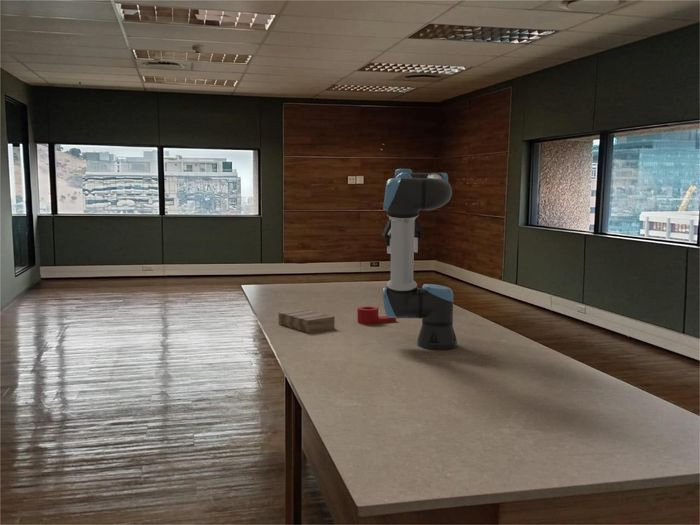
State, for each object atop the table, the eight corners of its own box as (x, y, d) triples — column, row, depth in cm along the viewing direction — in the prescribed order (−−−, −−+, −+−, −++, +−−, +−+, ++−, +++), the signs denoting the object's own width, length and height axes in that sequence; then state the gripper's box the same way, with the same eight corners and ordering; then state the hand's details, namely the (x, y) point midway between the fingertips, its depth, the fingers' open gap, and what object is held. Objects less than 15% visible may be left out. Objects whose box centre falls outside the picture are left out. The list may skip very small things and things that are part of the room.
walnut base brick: (334, 330, 268) (334, 316, 268) (307, 334, 260) (307, 320, 259) (304, 321, 285) (304, 308, 285) (278, 325, 277) (278, 312, 276)
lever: (360, 325, 277) (360, 310, 276) (355, 321, 286) (355, 306, 285) (399, 323, 282) (399, 308, 281) (392, 319, 291) (392, 305, 290)
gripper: (421, 204, 284) (420, 251, 287) (374, 204, 273) (373, 253, 275) (431, 204, 278) (430, 252, 280) (383, 204, 266) (382, 254, 268)
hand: (402, 252), depth 278 cm, fingers open, 13 cm apart
